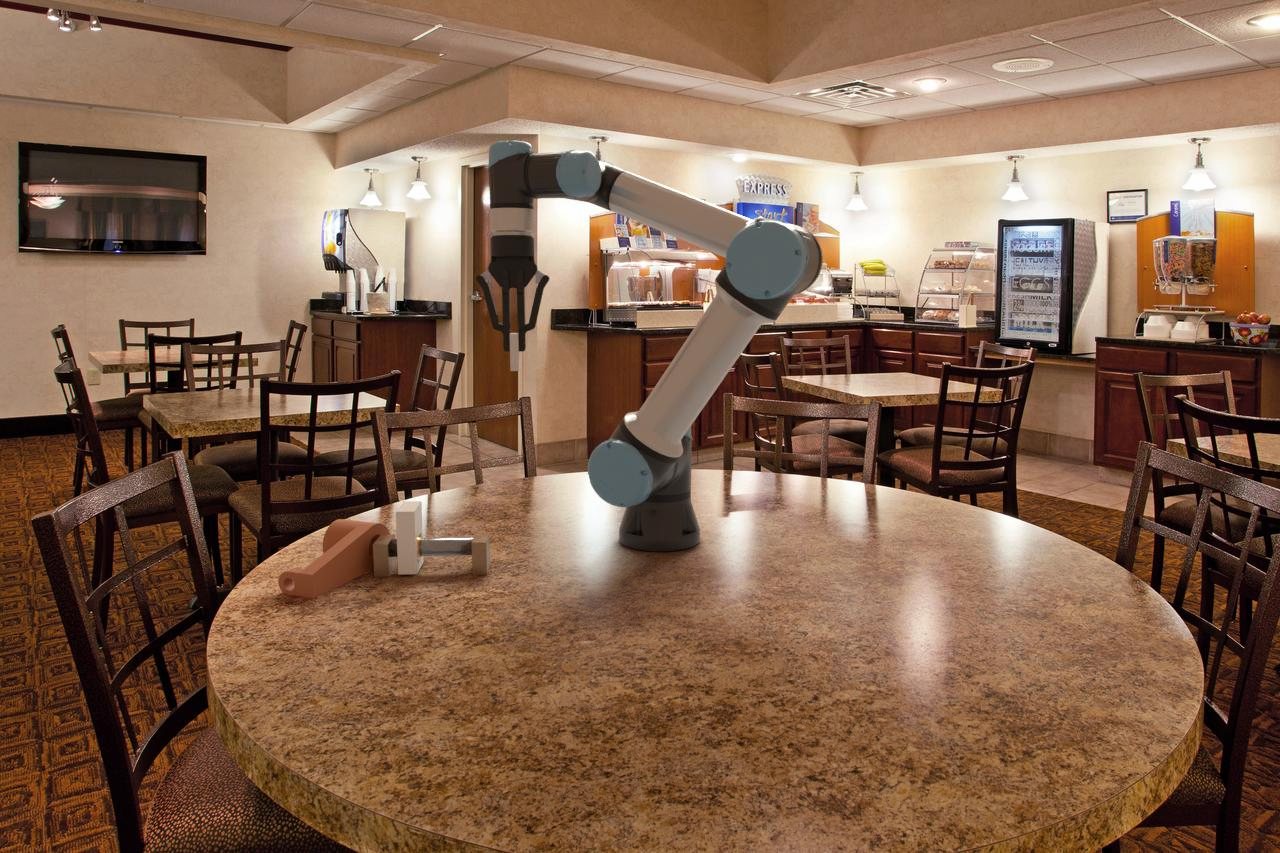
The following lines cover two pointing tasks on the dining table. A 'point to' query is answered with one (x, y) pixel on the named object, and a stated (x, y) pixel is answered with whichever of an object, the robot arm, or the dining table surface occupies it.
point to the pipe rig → (434, 551)
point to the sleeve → (409, 536)
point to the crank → (336, 559)
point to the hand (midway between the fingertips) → (515, 370)
